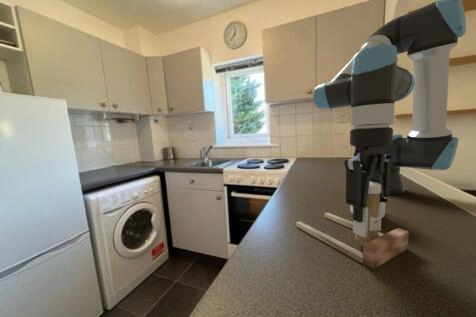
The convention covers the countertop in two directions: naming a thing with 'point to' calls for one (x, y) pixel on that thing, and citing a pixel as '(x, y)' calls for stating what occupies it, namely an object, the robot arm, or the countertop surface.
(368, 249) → the channel
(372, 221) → the sprinkles bottle
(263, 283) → the countertop surface
